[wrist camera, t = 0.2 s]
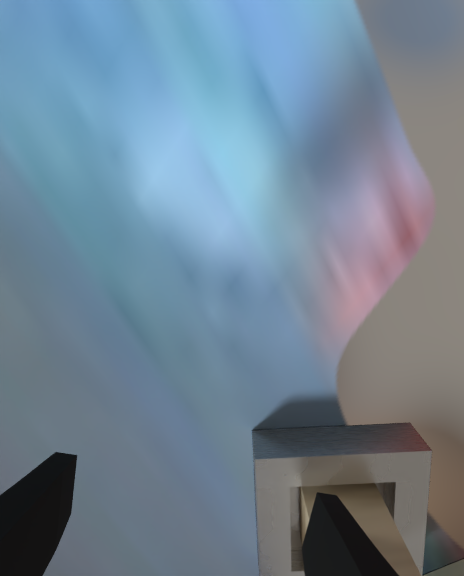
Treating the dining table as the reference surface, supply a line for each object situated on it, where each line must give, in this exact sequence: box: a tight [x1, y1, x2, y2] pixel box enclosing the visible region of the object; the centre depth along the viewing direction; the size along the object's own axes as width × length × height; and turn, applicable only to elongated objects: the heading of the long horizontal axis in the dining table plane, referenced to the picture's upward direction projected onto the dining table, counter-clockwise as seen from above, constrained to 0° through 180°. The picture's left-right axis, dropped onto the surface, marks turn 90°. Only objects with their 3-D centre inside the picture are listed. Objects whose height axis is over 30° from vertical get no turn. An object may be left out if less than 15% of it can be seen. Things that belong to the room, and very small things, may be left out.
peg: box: [299, 483, 421, 576], centre depth 18 cm, size 4×4×8 cm
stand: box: [252, 423, 432, 576], centre depth 22 cm, size 9×9×2 cm
